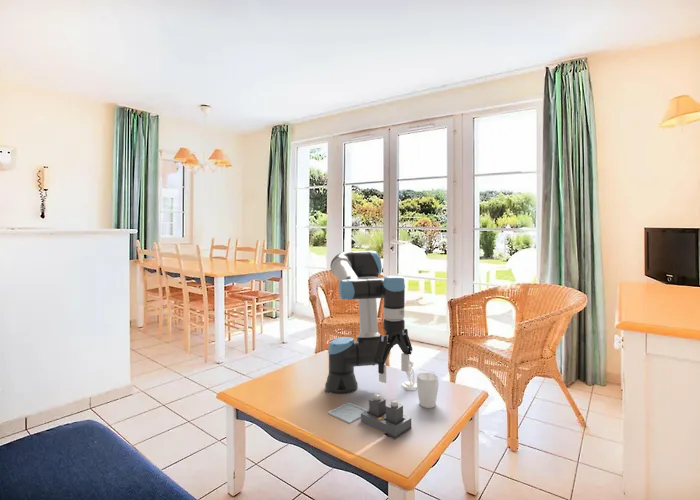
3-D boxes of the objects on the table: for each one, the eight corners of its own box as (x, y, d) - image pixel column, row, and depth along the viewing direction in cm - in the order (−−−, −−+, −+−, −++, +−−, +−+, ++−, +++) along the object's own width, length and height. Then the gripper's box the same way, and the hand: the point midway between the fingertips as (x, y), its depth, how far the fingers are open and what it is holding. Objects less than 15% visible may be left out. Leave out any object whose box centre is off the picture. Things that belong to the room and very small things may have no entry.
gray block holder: (361, 423, 142) (360, 396, 142) (377, 414, 150) (377, 388, 149) (395, 439, 131) (395, 410, 131) (411, 428, 139) (411, 400, 138)
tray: (327, 415, 149) (327, 412, 149) (348, 405, 158) (348, 402, 158) (349, 426, 141) (349, 422, 141) (370, 414, 150) (370, 411, 149)
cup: (438, 410, 153) (438, 381, 152) (416, 408, 155) (416, 379, 154) (438, 400, 162) (438, 373, 161) (416, 399, 163) (416, 371, 163)
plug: (385, 427, 138) (385, 402, 137) (393, 422, 141) (393, 398, 141) (395, 431, 135) (395, 405, 134) (403, 427, 138) (403, 401, 137)
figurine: (400, 382, 182) (399, 352, 181) (418, 382, 181) (418, 352, 181) (402, 390, 173) (401, 358, 172) (421, 390, 172) (421, 358, 172)
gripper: (380, 327, 124) (380, 389, 125) (421, 314, 143) (421, 369, 144) (363, 323, 130) (364, 383, 131) (405, 311, 148) (405, 364, 149)
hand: (394, 376), depth 137 cm, fingers open, 13 cm apart
